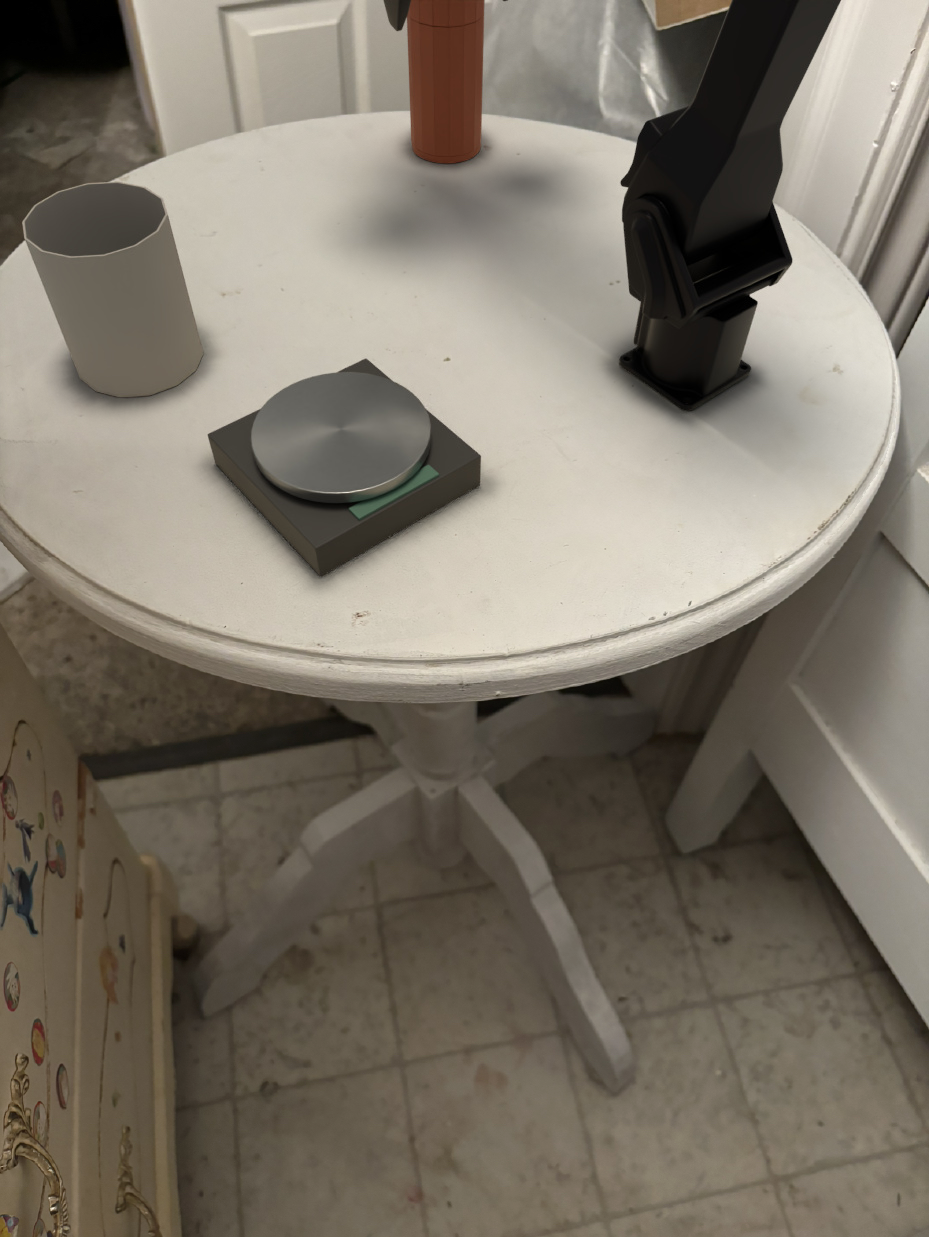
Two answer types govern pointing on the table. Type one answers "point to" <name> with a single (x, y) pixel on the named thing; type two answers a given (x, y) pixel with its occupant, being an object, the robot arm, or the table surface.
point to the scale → (354, 526)
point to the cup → (115, 286)
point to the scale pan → (341, 437)
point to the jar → (446, 78)
